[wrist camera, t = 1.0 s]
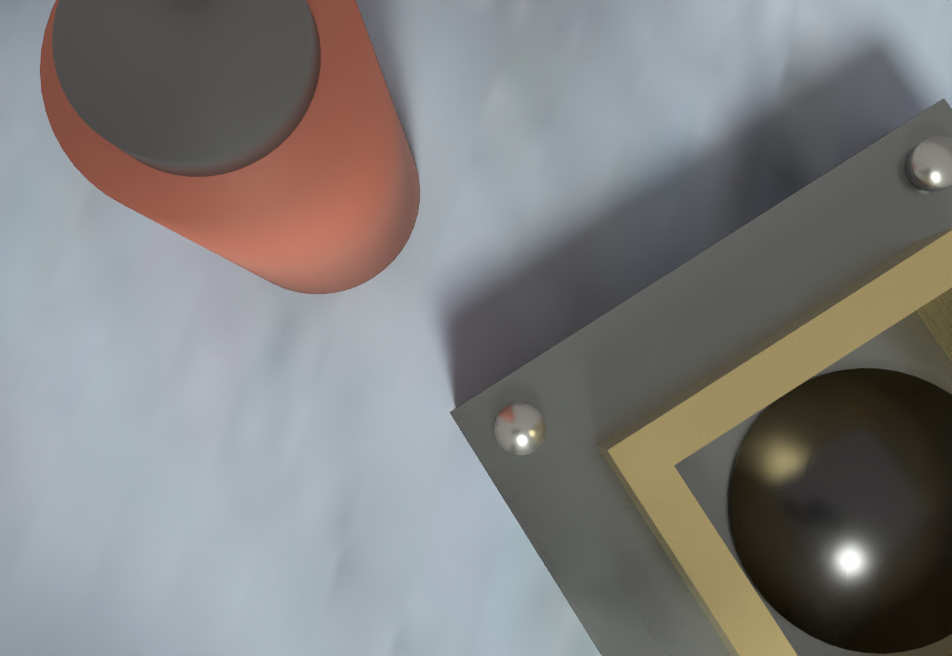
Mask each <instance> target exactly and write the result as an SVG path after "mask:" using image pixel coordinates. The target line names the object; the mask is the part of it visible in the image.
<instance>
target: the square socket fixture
mask: <svg viewBox="0 0 952 656" xmlns="http://www.w3.org/2000/svg"><path fill="white" fill-rule="evenodd" d="M450 414H451V415H452V417H453V419H454V420H455V422H456V423H457V425H458V427H459V428H460V430H461V431H462V433H463V435H464V436H465V438H466V439H467V441H468V443H469V444H470V446H471V447H472V449H473V451H474V452H475V454H476V455H477V457H478V459H479V460H480V462H481V463H482V465H483V467H484V468H485V470H486V471H487V473H488V475H489V476H490V478H491V479H492V481H493V483H494V484H495V486H496V487H497V489H498V491H499V492H500V494H501V495H502V497H503V499H504V500H505V502H506V503H507V505H508V507H509V508H510V510H511V511H512V513H513V515H514V516H515V518H516V519H517V521H518V523H519V524H520V526H521V527H522V529H523V531H524V532H525V534H526V535H527V537H528V539H529V540H530V542H531V543H532V545H533V547H534V548H535V550H536V551H537V553H538V555H539V556H540V558H541V559H542V561H543V563H544V564H545V566H546V567H547V569H548V571H549V572H550V574H551V575H552V577H553V579H554V580H555V582H556V583H557V585H558V587H559V588H560V590H561V591H562V593H563V595H564V596H565V598H566V599H567V601H568V603H569V604H570V606H571V607H572V609H573V611H574V612H575V614H576V615H577V617H578V619H579V620H580V622H581V623H582V625H583V626H584V628H585V630H586V631H587V633H588V634H589V636H590V638H591V639H592V641H593V642H594V644H595V646H596V647H597V649H598V650H599V652H600V654H601V655H602V656H952V109H951V108H950V106H949V105H948V103H947V102H946V101H945V99H942V100H941V101H939V102H937V103H936V104H934V105H933V106H931V107H930V108H928V109H926V110H925V111H923V112H922V113H920V114H919V115H917V116H915V117H914V118H912V119H911V120H909V121H908V122H906V123H904V124H903V125H901V126H900V127H898V128H896V129H895V130H893V131H892V132H890V133H889V134H887V135H885V136H884V137H882V138H881V139H879V140H878V141H876V142H874V143H873V144H871V145H870V146H868V147H867V148H865V149H863V150H862V151H860V152H859V153H857V154H856V155H854V156H852V157H851V158H849V159H848V160H846V161H845V162H843V163H841V164H840V165H838V166H837V167H835V168H834V169H832V170H830V171H829V172H827V173H826V174H824V175H823V176H821V177H819V178H818V179H816V180H815V181H813V182H811V183H810V184H808V185H807V186H805V187H804V188H802V189H800V190H799V191H797V192H796V193H794V194H793V195H791V196H789V197H788V198H786V199H785V200H783V201H782V202H780V203H778V204H777V205H775V206H774V207H772V208H771V209H769V210H767V211H766V212H764V213H763V214H761V215H760V216H758V217H756V218H755V219H753V220H752V221H750V222H749V223H747V224H745V225H744V226H742V227H741V228H739V229H738V230H736V231H734V232H733V233H731V234H730V235H728V236H726V237H725V238H723V239H722V240H720V241H719V242H717V243H715V244H714V245H712V246H711V247H709V248H708V249H706V250H704V251H703V252H701V253H700V254H698V255H697V256H695V257H693V258H692V259H690V260H689V261H687V262H686V263H684V264H682V265H681V266H679V267H678V268H676V269H675V270H673V271H671V272H670V273H668V274H667V275H665V276H664V277H662V278H660V279H659V280H657V281H656V282H654V283H653V284H651V285H649V286H648V287H646V288H645V289H643V290H641V291H640V292H638V293H637V294H635V295H634V296H632V297H630V298H629V299H627V300H626V301H624V302H623V303H621V304H619V305H618V306H616V307H615V308H613V309H612V310H610V311H608V312H607V313H605V314H604V315H602V316H601V317H599V318H597V319H596V320H594V321H593V322H591V323H590V324H588V325H586V326H585V327H583V328H582V329H580V330H579V331H577V332H575V333H574V334H572V335H571V336H569V337H568V338H566V339H564V340H563V341H561V342H560V343H558V344H556V345H555V346H553V347H552V348H550V349H549V350H547V351H545V352H544V353H542V354H541V355H539V356H538V357H536V358H534V359H533V360H531V361H530V362H528V363H527V364H525V365H523V366H522V367H520V368H519V369H517V370H516V371H514V372H512V373H511V374H509V375H508V376H506V377H505V378H503V379H501V380H500V381H498V382H497V383H495V384H494V385H492V386H490V387H489V388H487V389H486V390H484V391H483V392H481V393H479V394H478V395H476V396H475V397H473V398H471V399H470V400H468V401H467V402H465V403H464V404H462V405H460V406H459V407H457V408H456V409H454V410H453V411H451V412H450Z"/></svg>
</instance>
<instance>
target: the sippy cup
mask: <svg viewBox="0 0 952 656" xmlns="http://www.w3.org/2000/svg"><path fill="white" fill-rule="evenodd" d="M40 77H41V90H42V96H43V100H44V105H45V110H46V113H47V116H48V119H49V121H50V124H51V127H52V130H53V132H54V134H55V136H56V138H57V140H58V142H59V143H60V145H61V147H62V149H63V151H64V152H65V153H66V155H67V156H68V158H69V159H70V160H71V162H72V163H73V164H74V166H75V167H76V168H77V169H78V170H79V171H80V172H81V173H82V174H83V175H84V176H85V177H86V179H87V180H88V181H89V182H91V183H92V184H93V185H95V186H96V187H97V188H98V189H100V190H101V191H102V192H103V193H105V194H106V195H108V196H109V197H111V198H113V199H114V200H116V201H118V202H120V203H121V204H123V205H125V206H127V207H129V208H130V209H132V210H134V211H136V212H138V213H140V214H142V215H144V216H146V217H148V218H149V219H151V220H153V221H155V222H157V223H159V224H161V225H163V226H165V227H167V228H168V229H170V230H172V231H174V232H176V233H178V234H180V235H182V236H184V237H186V238H187V239H189V240H191V241H193V242H195V243H197V244H199V245H201V246H203V247H205V248H206V249H208V250H210V251H212V252H214V253H216V254H218V255H220V256H222V257H224V258H225V259H227V260H229V261H231V262H233V263H235V264H237V265H239V266H241V267H242V268H244V269H246V270H248V271H250V272H252V273H254V274H256V275H258V276H260V277H261V278H263V279H265V280H267V281H269V282H271V283H273V284H275V285H278V286H280V287H282V288H285V289H288V290H292V291H295V292H300V293H308V294H327V293H335V292H340V291H344V290H348V289H351V288H353V287H356V286H358V285H361V284H363V283H365V282H366V281H368V280H370V279H372V278H374V277H375V276H376V275H378V274H379V273H380V272H382V271H383V270H384V269H385V268H386V267H387V266H388V265H389V264H390V263H391V262H393V261H394V259H395V258H396V257H397V256H398V254H399V253H400V252H401V251H402V249H403V247H404V246H405V244H406V242H407V241H408V239H409V237H410V235H411V232H412V230H413V228H414V225H415V222H416V218H417V215H418V209H419V202H420V185H419V177H418V172H417V168H416V165H415V161H414V159H413V156H412V153H411V150H410V148H409V145H408V142H407V139H406V137H405V134H404V131H403V128H402V126H401V123H400V120H399V118H398V115H397V112H396V109H395V107H394V104H393V101H392V98H391V96H390V93H389V90H388V87H387V85H386V82H385V79H384V77H383V74H382V71H381V68H380V66H379V63H378V60H377V57H376V55H375V52H374V49H373V46H372V44H371V41H370V38H369V35H368V33H367V30H366V27H365V25H364V22H363V19H362V16H361V14H360V11H359V8H358V6H357V3H356V1H355V0H56V2H55V4H54V6H53V8H52V11H51V14H50V17H49V20H48V23H47V26H46V29H45V33H44V39H43V44H42V49H41V64H40Z"/></svg>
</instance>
